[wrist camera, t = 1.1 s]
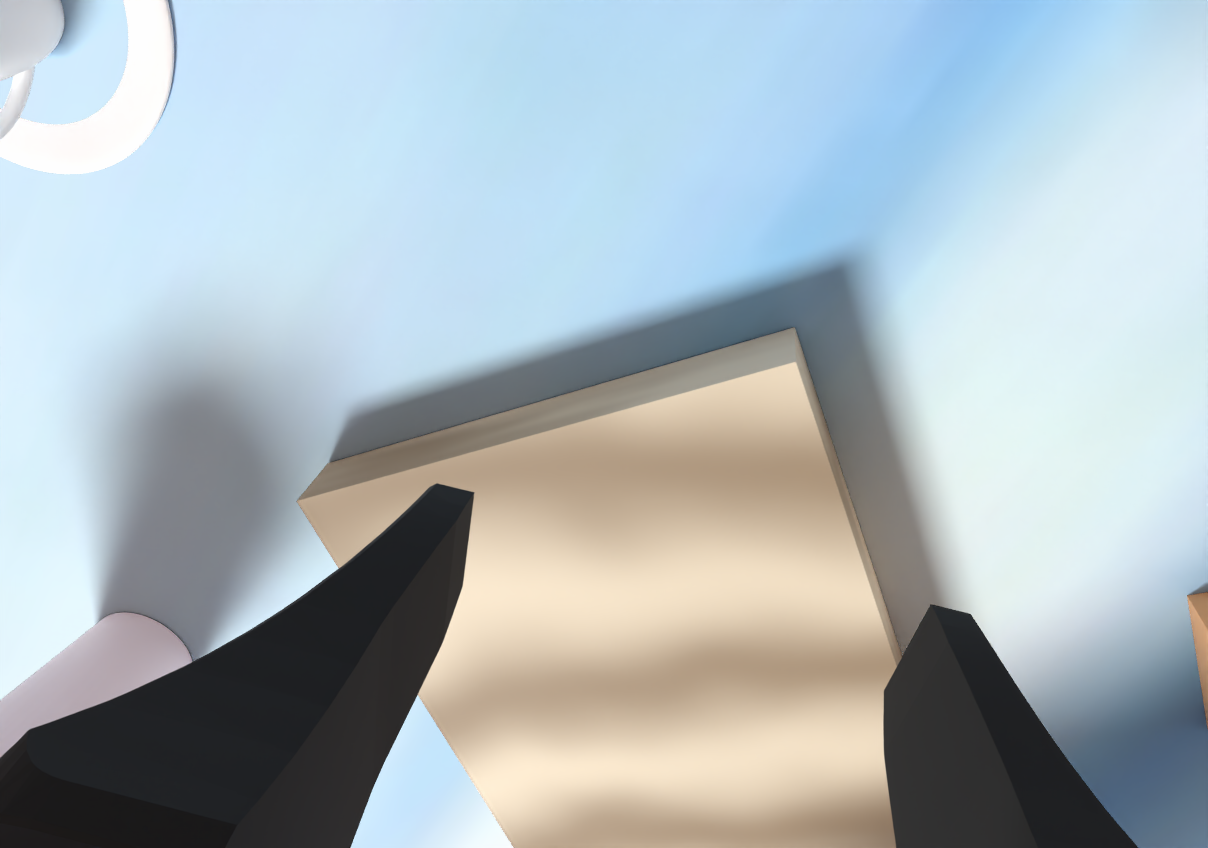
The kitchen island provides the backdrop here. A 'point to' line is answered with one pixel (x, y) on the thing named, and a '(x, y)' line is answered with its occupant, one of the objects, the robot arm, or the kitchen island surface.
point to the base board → (653, 610)
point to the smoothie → (92, 673)
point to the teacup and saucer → (27, 36)
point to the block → (1201, 639)
